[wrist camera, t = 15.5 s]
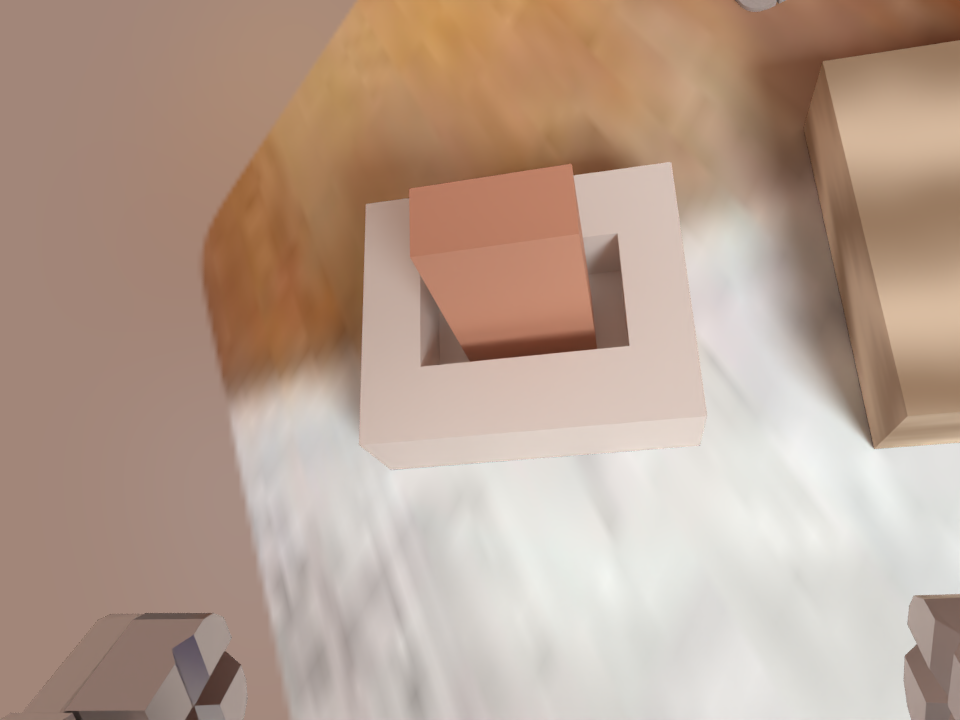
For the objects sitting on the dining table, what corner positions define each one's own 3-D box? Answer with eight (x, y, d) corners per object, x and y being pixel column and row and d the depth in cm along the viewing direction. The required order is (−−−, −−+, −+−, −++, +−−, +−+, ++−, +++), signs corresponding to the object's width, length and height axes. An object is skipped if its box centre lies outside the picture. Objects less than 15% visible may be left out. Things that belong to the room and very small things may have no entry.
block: (597, 350, 31) (579, 233, 23) (471, 364, 32) (410, 257, 23) (591, 294, 32) (571, 163, 23) (469, 310, 32) (409, 188, 24)
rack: (700, 445, 29) (707, 415, 26) (390, 469, 32) (358, 445, 28) (668, 215, 33) (671, 162, 30) (393, 249, 35) (365, 203, 32)
